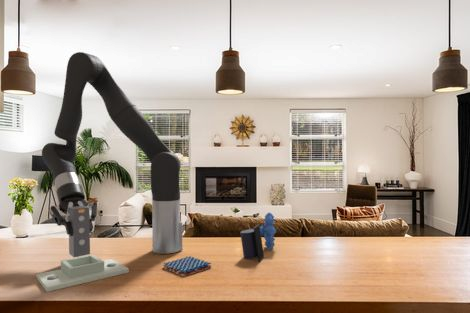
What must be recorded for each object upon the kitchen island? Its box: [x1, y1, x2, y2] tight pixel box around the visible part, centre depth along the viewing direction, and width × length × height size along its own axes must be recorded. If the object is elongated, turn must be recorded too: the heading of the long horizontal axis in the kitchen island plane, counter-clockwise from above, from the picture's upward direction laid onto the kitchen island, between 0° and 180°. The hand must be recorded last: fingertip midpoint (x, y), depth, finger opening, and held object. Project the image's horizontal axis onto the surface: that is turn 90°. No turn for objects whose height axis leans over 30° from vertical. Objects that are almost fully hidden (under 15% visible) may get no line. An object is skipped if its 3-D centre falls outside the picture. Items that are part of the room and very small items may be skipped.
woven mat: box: [162, 255, 212, 277], centre depth 95 cm, size 10×11×2 cm
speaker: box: [240, 224, 265, 263], centre depth 105 cm, size 8×6×10 cm
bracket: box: [36, 254, 130, 293], centre depth 90 cm, size 20×12×4 cm, turn 131°
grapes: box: [259, 212, 277, 250], centre depth 116 cm, size 12×7×12 cm, turn 176°
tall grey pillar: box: [68, 206, 91, 258], centre depth 100 cm, size 4×5×14 cm
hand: (81, 232), depth 99 cm, fingers closed on tall grey pillar, 4 cm apart
